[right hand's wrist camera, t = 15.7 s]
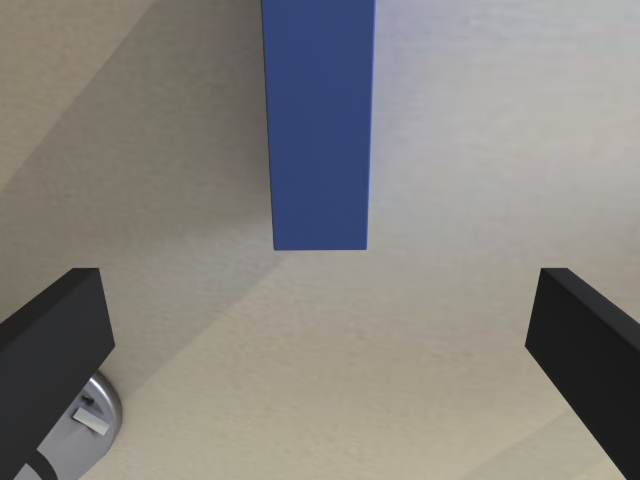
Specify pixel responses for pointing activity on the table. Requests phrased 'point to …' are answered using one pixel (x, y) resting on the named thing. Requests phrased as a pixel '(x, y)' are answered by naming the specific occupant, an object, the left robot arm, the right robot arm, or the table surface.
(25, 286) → the table surface
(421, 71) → the table surface
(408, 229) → the table surface
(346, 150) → the box
